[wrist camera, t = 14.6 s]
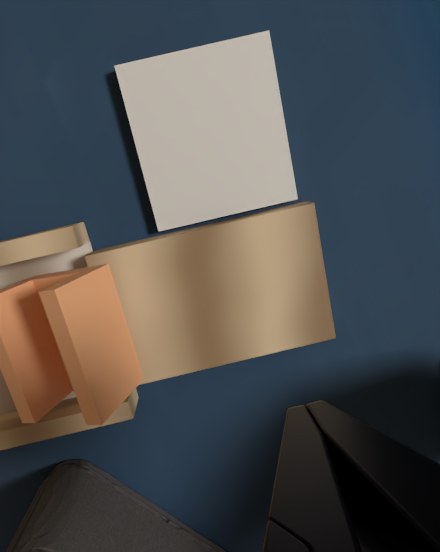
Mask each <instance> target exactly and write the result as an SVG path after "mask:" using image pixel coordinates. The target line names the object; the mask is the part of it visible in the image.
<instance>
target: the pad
mask: <svg viewBox="0 0 440 552" xmlns="http://www.w3.org/2000/svg"><path fill="white" fill-rule="evenodd" d="M114 67H115V70H116V74H117V78H118V82H119V86H120V89H121V93H122V97H123V101H124V104H125V108H126V112H127V116H128V119H129V123H130V127H131V131H132V134H133V138H134V142H135V146H136V150H137V153H138V157H139V161H140V165H141V168H142V172H143V176H144V180H145V183H146V187H147V191H148V195H149V198H150V202H151V206H152V210H153V213H154V217H155V221H156V225H157V229H158V232H159V231H164V230H168V229H172V228H177V227H181V226H185V225H189V224H194V223H198V222H202V221H207V220H211V219H215V218H219V217H224V216H228V215H232V214H237V213H241V212H245V211H249V210H254V209H258V208H262V207H267V206H271V205H275V204H279V203H284V202H288V201H292V200H297V199H298V197H297V192H296V186H295V180H294V174H293V168H292V162H291V156H290V150H289V145H288V139H287V133H286V127H285V121H284V115H283V109H282V103H281V98H280V92H279V86H278V80H277V74H276V68H275V62H274V57H273V51H272V45H271V39H270V33H269V31H265V32H260V33H256V34H251V35H247V36H243V37H238V38H234V39H230V40H225V41H221V42H216V43H212V44H208V45H203V46H199V47H194V48H190V49H186V50H181V51H177V52H172V53H168V54H164V55H159V56H155V57H150V58H146V59H142V60H137V61H133V62H129V63H124V64H120V65H115V66H114Z"/></svg>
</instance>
